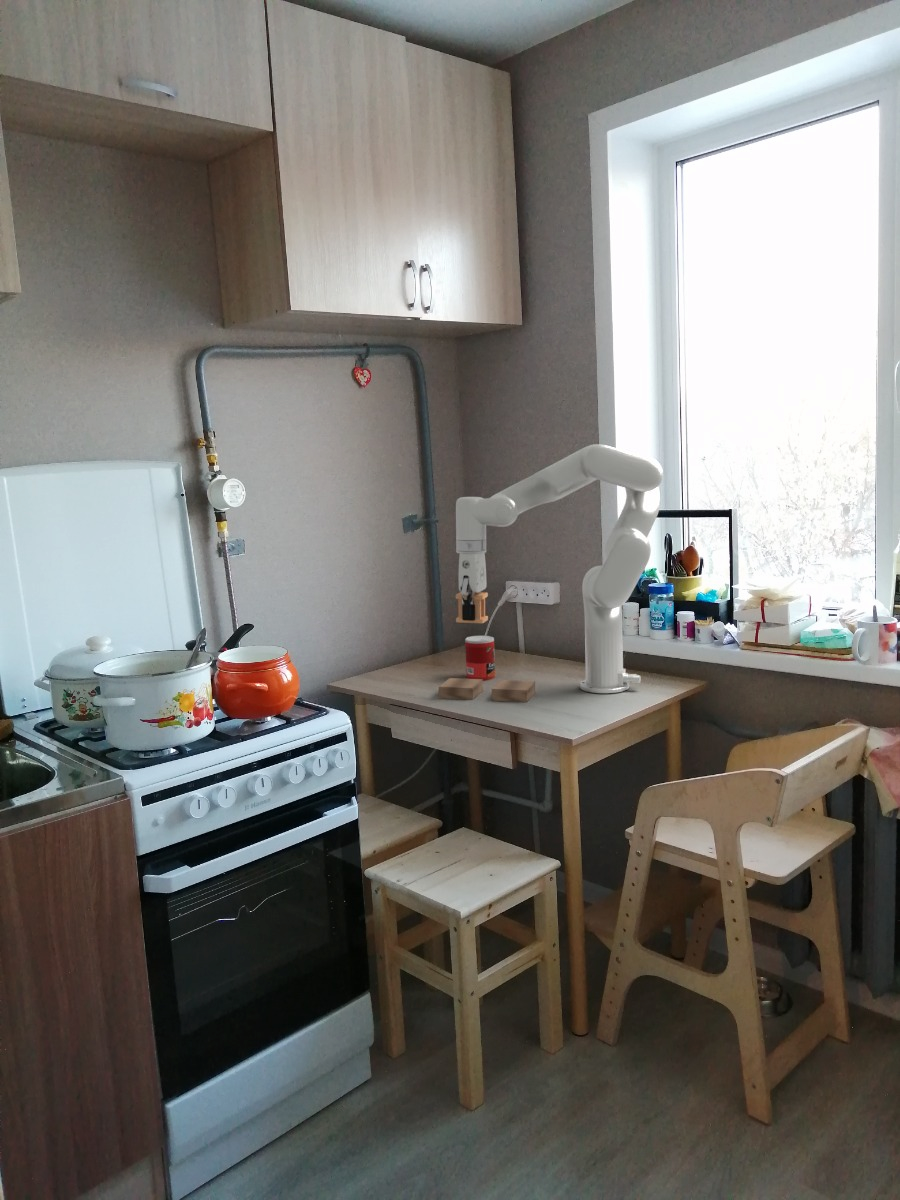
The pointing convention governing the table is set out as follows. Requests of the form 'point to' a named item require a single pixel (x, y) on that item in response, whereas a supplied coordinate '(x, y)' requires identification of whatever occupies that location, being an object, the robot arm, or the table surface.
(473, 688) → the stand
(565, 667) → the table surface
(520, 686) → the stand
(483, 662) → the canned food
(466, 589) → the robot arm
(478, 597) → the housing
